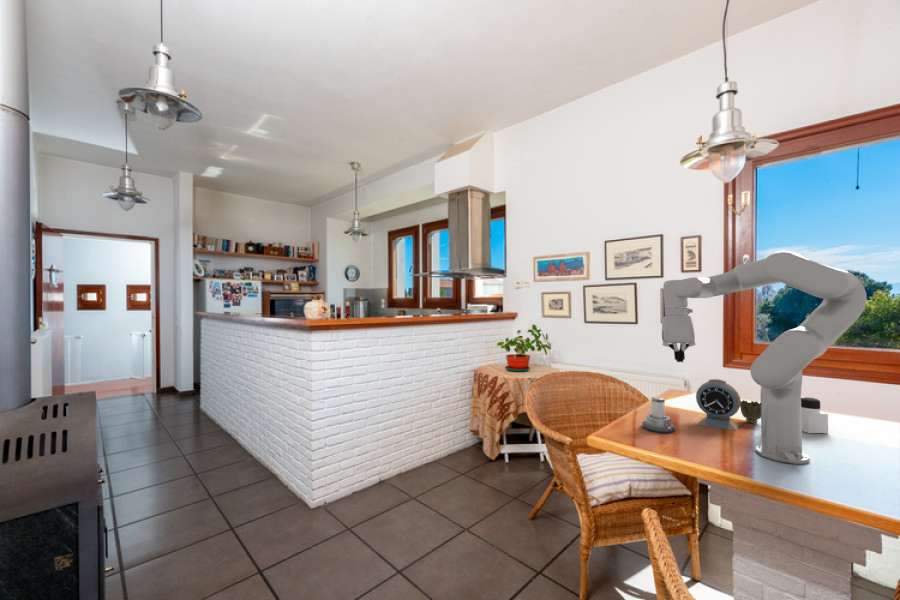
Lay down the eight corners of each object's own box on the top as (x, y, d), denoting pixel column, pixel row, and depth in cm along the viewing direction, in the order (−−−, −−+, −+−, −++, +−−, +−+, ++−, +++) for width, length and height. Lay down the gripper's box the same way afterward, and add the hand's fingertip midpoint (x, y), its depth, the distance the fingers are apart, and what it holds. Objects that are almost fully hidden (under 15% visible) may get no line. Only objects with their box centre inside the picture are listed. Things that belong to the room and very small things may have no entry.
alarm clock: (694, 423, 150) (693, 379, 150) (699, 418, 157) (698, 375, 157) (739, 431, 140) (738, 383, 140) (742, 425, 147) (741, 379, 147)
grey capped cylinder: (666, 426, 142) (665, 400, 142) (653, 425, 143) (652, 399, 143) (663, 423, 146) (663, 397, 146) (651, 422, 147) (650, 396, 148)
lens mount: (678, 434, 138) (677, 422, 138) (644, 431, 141) (644, 419, 141) (671, 425, 148) (671, 413, 148) (640, 422, 152) (640, 411, 152)
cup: (762, 421, 151) (761, 401, 151) (765, 426, 145) (765, 405, 145) (738, 418, 155) (738, 399, 155) (741, 423, 149) (740, 403, 149)
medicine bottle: (828, 433, 136) (828, 400, 136) (808, 433, 136) (807, 400, 136) (810, 427, 143) (809, 395, 143) (791, 427, 143) (790, 395, 144)
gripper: (696, 311, 143) (699, 360, 143) (652, 313, 148) (655, 360, 147) (702, 311, 136) (706, 363, 135) (656, 313, 141) (659, 363, 140)
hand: (679, 361), depth 141 cm, fingers closed
